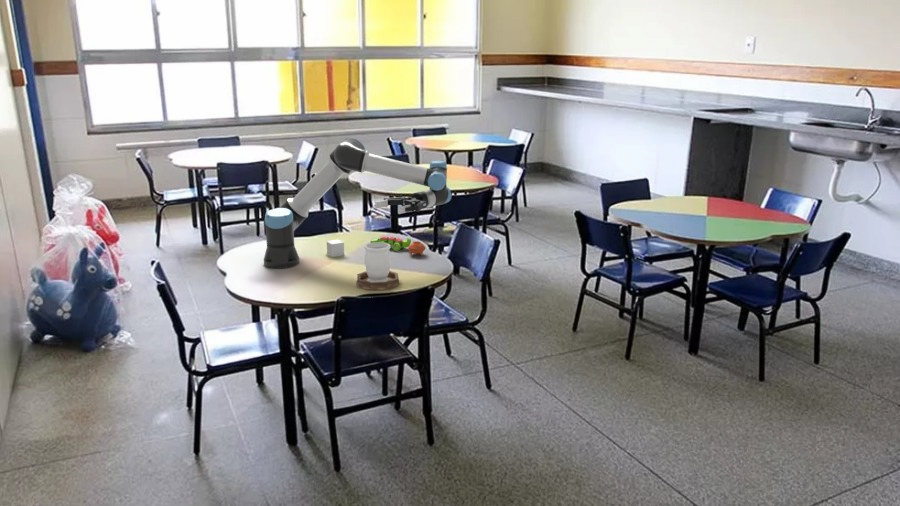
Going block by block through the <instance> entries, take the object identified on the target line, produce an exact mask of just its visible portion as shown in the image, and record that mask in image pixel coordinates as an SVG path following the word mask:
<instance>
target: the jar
mask: <svg viewBox="0 0 900 506" xmlns="http://www.w3.org/2000/svg"><path fill="white" fill-rule="evenodd" d="M364 249H365V254H364V265H365V266H364V267H365V271H366V272H367V275H368V277H369V278H368V282H387V281H388V278H387V276H388V274H389V271H391V270H390V269H391V265H392V263H391V260H392V258H391V257H392V256H391V251H390V249H391V247H390V244H388V243H383V242H374V243H371V242H369V243H366V244H365V245H364Z"/></svg>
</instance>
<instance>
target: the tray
mask: <svg viewBox="0 0 900 506" xmlns="http://www.w3.org/2000/svg"><path fill="white" fill-rule="evenodd" d="M356 276H357V277H356V283H355V284H356V286H357V287H359V288H361V289H363V290H367V291H386V290H390V289H393V288H396V287H397V286H399V284H400V279H399V278H400V277H399V273H398V272H396V271H391V270H390V271H389V274H388V276H387V278H388V281H387V282H368V278H369V277H368V275H367V272H366V270H365V271H362V272H359V273H357V274H356Z"/></svg>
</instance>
